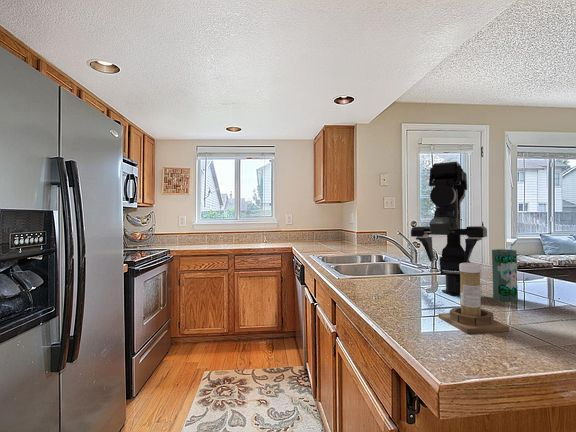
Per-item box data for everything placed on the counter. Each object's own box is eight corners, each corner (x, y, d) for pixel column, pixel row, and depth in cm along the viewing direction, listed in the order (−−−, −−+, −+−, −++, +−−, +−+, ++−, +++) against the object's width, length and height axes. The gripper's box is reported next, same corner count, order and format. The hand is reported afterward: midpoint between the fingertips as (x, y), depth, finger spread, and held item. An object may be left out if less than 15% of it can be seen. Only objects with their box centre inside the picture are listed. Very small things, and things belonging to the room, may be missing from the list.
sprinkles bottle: (463, 315, 85) (462, 261, 85) (484, 318, 82) (482, 263, 82) (458, 319, 81) (456, 263, 81) (479, 323, 78) (477, 265, 78)
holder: (438, 317, 87) (438, 306, 87) (475, 315, 88) (475, 304, 88) (466, 333, 75) (466, 320, 75) (509, 330, 76) (508, 318, 76)
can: (505, 302, 100) (503, 251, 100) (489, 297, 106) (487, 249, 106) (522, 300, 101) (521, 250, 101) (505, 296, 107) (504, 248, 107)
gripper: (402, 208, 94) (404, 263, 94) (477, 205, 82) (479, 269, 82) (416, 208, 103) (418, 259, 103) (486, 205, 91) (488, 263, 91)
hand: (448, 262), depth 95 cm, fingers open, 9 cm apart
